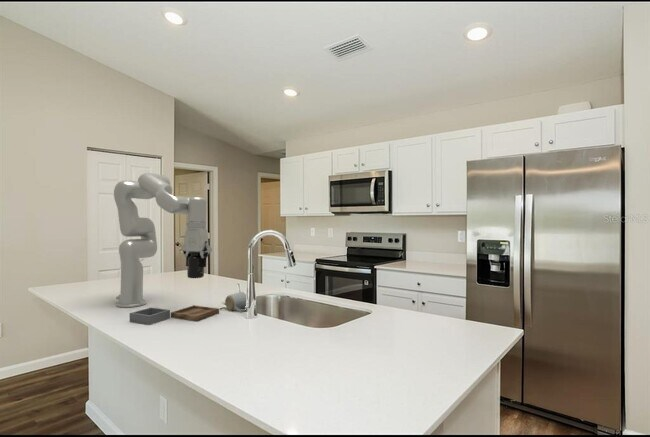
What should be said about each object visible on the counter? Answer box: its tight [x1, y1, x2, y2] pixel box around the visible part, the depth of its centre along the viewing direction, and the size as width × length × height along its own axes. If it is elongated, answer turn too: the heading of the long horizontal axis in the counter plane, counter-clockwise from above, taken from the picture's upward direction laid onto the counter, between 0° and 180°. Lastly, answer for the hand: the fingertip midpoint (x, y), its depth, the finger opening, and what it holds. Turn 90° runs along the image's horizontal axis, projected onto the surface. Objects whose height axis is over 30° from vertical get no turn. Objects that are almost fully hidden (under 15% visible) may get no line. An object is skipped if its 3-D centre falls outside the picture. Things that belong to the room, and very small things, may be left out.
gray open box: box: [129, 307, 171, 326], centre depth 147 cm, size 11×11×4 cm
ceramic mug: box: [224, 291, 247, 313], centre depth 166 cm, size 11×8×8 cm
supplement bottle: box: [186, 252, 205, 279], centre depth 155 cm, size 7×7×12 cm
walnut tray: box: [170, 305, 220, 322], centre depth 155 cm, size 14×14×2 cm
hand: (196, 266), depth 155 cm, fingers closed on supplement bottle, 6 cm apart
